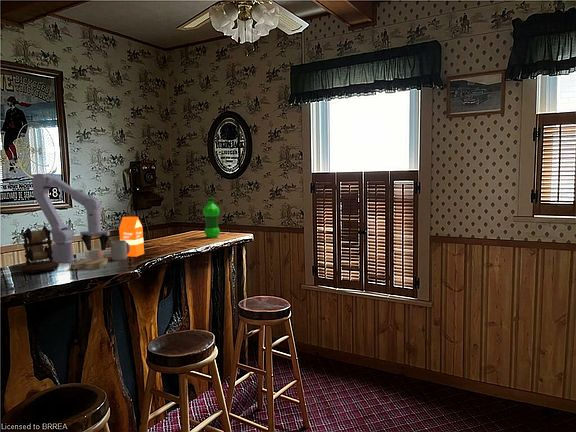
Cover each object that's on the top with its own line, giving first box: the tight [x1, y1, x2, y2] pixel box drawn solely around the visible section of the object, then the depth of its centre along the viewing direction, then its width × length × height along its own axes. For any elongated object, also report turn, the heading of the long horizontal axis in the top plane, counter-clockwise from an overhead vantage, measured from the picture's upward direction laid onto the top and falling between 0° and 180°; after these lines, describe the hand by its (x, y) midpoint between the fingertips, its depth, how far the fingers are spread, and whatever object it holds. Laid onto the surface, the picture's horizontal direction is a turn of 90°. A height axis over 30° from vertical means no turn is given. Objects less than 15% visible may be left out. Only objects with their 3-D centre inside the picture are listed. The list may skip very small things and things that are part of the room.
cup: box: [110, 239, 130, 262], centre depth 213 cm, size 7×10×9 cm
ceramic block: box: [88, 247, 105, 259], centre depth 211 cm, size 4×4×6 cm
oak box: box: [70, 257, 109, 270], centre depth 198 cm, size 12×12×3 cm
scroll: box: [20, 225, 60, 274], centre depth 190 cm, size 15×15×20 cm
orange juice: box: [118, 216, 145, 257], centre depth 221 cm, size 8×9×20 cm
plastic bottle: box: [202, 197, 221, 239], centre depth 270 cm, size 10×10×25 cm
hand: (96, 250), depth 211 cm, fingers open, 7 cm apart
